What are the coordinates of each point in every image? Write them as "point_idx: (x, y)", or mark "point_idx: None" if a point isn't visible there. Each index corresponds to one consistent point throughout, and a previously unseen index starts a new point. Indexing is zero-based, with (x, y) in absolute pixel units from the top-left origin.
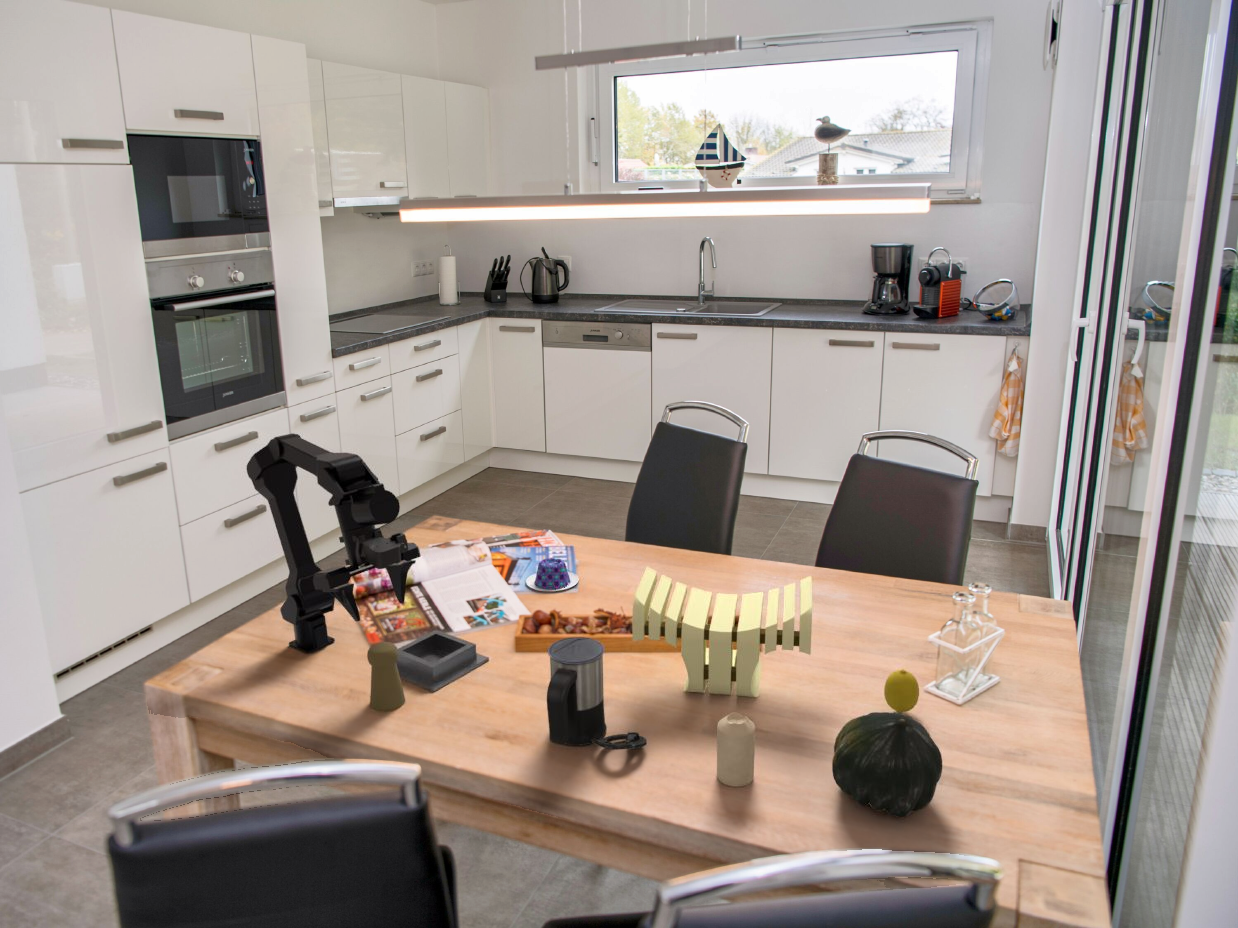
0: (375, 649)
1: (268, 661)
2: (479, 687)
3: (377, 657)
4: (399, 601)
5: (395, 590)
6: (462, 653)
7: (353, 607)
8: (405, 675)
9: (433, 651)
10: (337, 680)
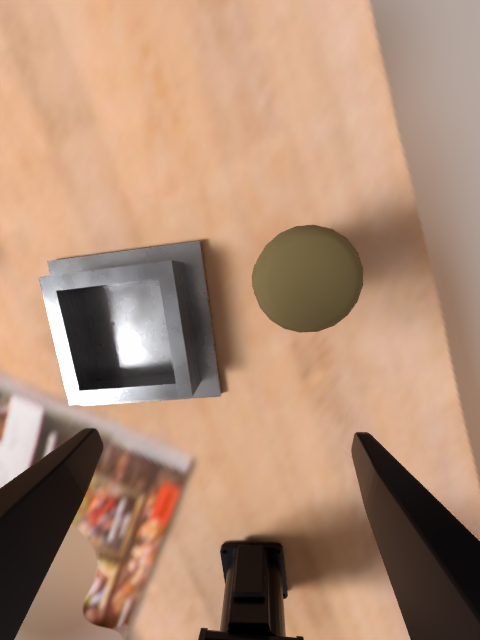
0: (345, 276)
1: (343, 572)
2: (125, 182)
3: (353, 247)
4: (97, 452)
5: (58, 528)
6: (83, 271)
7: (445, 518)
8: (207, 332)
9: (115, 369)
10: (301, 424)
